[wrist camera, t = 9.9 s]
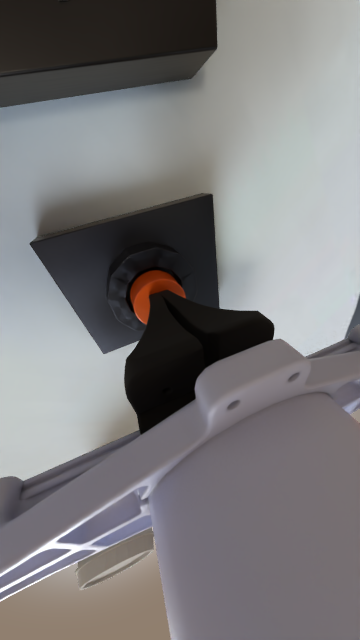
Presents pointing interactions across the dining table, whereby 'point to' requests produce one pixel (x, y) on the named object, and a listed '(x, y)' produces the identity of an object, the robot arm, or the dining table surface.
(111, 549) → the disposable coffee cup
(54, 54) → the dial panel
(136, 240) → the button housing
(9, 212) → the dining table surface
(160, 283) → the button
